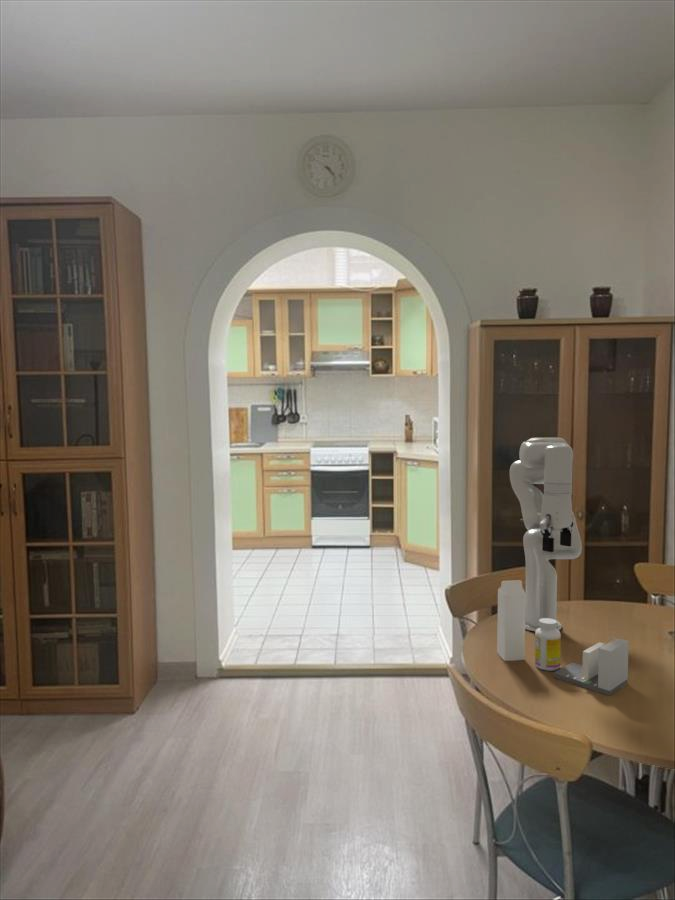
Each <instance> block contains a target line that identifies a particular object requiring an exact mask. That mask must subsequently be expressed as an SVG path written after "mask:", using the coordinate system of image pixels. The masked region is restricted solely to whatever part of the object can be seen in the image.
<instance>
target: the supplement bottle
mask: <svg viewBox="0 0 675 900" xmlns="http://www.w3.org/2000/svg"><path fill="white" fill-rule="evenodd" d="M556 620H557V619H556ZM556 620H554V619H550V618H542V619H540V620H539V626H540V628H538V629H537V630H536V632H535V634H534V636H535V637H534V638H535V641H534V664H535V667H536V668H538V669H539V670H542V671H548V672H556V671H558V670H560V669H561V665H562V664H561V659H562V656H561V652H562V651H561V647H562V646H561V645H562V643H561V642H562V641H561V637H562V635H561V632H560V630H559V631H558V630H557V629H556V627H557V621H558V620H557V621H556Z"/></svg>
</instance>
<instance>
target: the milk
mask: <svg viewBox="0 0 675 900" xmlns="http://www.w3.org/2000/svg"><path fill="white" fill-rule="evenodd" d="M500 583H501V586H500V587H499V588H498V589H497V633H496V634H497V638H496V639H497V641H496V642H497V643H496V644H497V645H496V654H497V655H499V657H500V658H501V659H502V660H503V662H509V661H511V662H514V661H515V662H516V661H526V659H525V657H526V629H525V607H526V591H525V590H524V586H523V581H522V580H521V579H520V580H519V579H517V580H514V579H513V580H502V581H501V582H500Z"/></svg>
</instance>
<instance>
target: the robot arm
mask: <svg viewBox="0 0 675 900" xmlns="http://www.w3.org/2000/svg"><path fill="white" fill-rule="evenodd" d="M518 452H519V453H518V454H519V455H518V456H519V460H516V461H514V462H513V463H512V464H511V465H510V468H509V482H510V486H511V488H512V490H513V492H514V494H515V496H516V498H517V499H518V501H519V504H520V509H521V515H522V520H523V524H524V527H525V529H526V530H527V531H526V532H525V533H524V535H523V538H522V540H523V541H522V543H523V550H524V557H525V559H524V560H525V594H526V607H525V630H527V631H530V632H536V630H537V629H538V628H540V626H539V620H540V619H542V618H550V619H554V620H556V621H557V627H556V629H557V630H558V631H559V632H560V630H561V629H562V623H561V622H560V621H559V620H557V606H558V605H557V601H558V600H557V595H558V586H557V585H558V573H557V570H556V569H555V567H554V566H553V564H552V563H551V562H550V560H574V559H576V558H579V556H580V555H581V553H582V550H583V547H582V546H583V545H582V539H581V535H580V531H579V527H578V523H577V521H576V520H577V519H576V517H575V513H574V511H573V501H572V500H573V499H572V495H573V466H574V465H573V460H574V450H573V448H572V447H571V445H569V443H568V442H567V440H566V439H564V438H562V437H531V438H529V439H527V440H525V441H523V442H522V443H521V445H520V448H519V451H518ZM535 484H536V485H543V492H542V491H541V490H540V489H539V488H538V487H537V486H535Z"/></svg>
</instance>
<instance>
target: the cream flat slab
mask: <svg viewBox="0 0 675 900" xmlns="http://www.w3.org/2000/svg"><path fill="white" fill-rule="evenodd" d="M605 644H606V643H605V642H600V641H599V642H596V644H593V645H592V646H590V647H588V648H586V649H585V650H583V651H582V664H581V665H582V678H581V680H582V681H584V680H589V679H591V678H592V677H594V676H596V675H597V674H598V665H599V648H600V647H602V646H604V645H605Z"/></svg>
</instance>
